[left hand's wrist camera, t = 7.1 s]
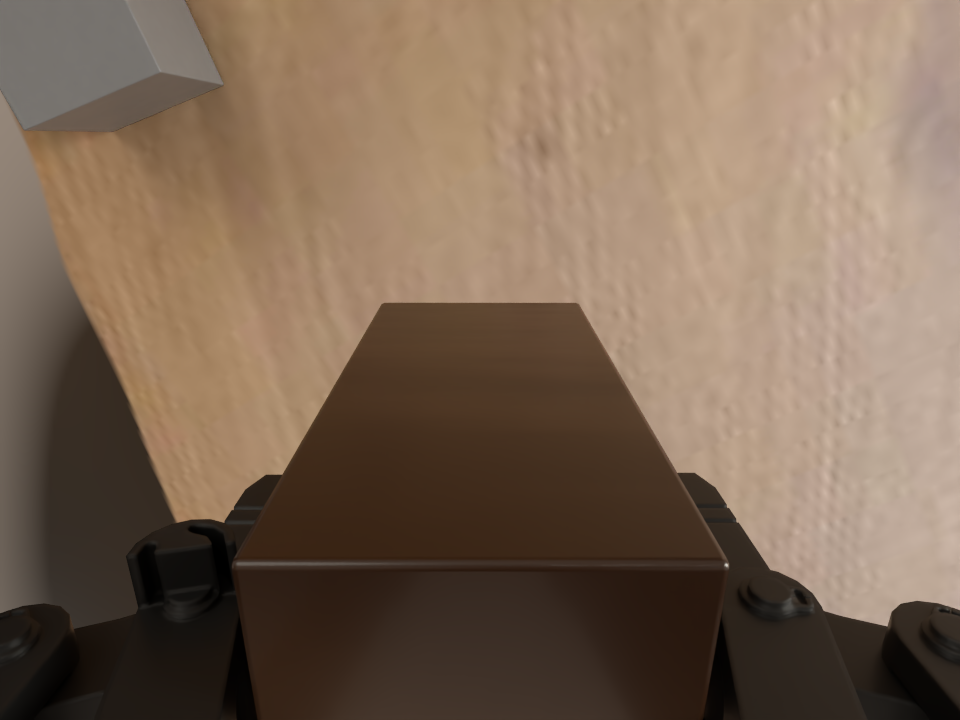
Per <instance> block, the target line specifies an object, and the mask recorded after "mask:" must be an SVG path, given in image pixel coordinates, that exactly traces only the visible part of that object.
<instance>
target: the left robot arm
mask: <svg viewBox="0 0 960 720" xmlns="http://www.w3.org/2000/svg"><path fill="white" fill-rule="evenodd" d="M677 474H678V475H679V477H680V479H681V481H682V482H683V484H684V486H685V487H686V489H687V491H688V493H689V494H690V496H691V498H692V500H693V501H694V503H695V505H696V506H697V508H698V510H699V512H700V513H701V515H702V517H703V518H704V520H705V522H706V524H707V525H708V527H709V529H710V530H711V532H712V534H713V536H714V537H715V539H716V541H717V542H718V544H719V546H720V548H721V549H722V551H723V553H724V554H725V556H726V558H727V560H728V563H729V573H728V579H727V585H726V590H725V596H724V602H723V608H722V613H721V619H720V625H719V631H718V636H717V642H716V648H715V654H714V659H713V665H712V671H711V677H710V682H709V688H708V694H707V700H706V705H705V711H704V717H703V720H960V610H957V609H955V608H951V607H948V606H945V605H942V604H938V603H930V602H921V601H914V602H909V603H903V604H900V605H899V606H898V607H897V608H896V609H895V610H893V611H892V613H891V617H890V620H889V623H888V627H887V626H882V625H878V624H873V623H869V622H864V621H860V620H856V619H851V618H847V617H842V616H839V615H835V614H832V613H829V612H825V611H823V609H822V607H821V605H820V604H819V602H818V601H817V599H816V598H815V596H814V595H813V593H811V592H810V591H809V590H808V589H806V588H805V587H804V586H803V585H801V584H800V583H799V582H798V581H796V580H794V579H792V578H789V577H787V576H785V575H783V574H781V573H779V572H776V571H772V570H770V569H769V567H768V566H767V564H766V563H765V561H764V560H763V558H762V557H761V555H760V554H759V552H758V551H757V549H756V548H755V546H754V545H753V543H752V542H751V540H750V539H749V537H748V536H747V534H746V533H745V531H744V530H743V528H742V527H741V525H740V524H739V523H737V522H736V518H735V516H734V515H733V513H732V512H731V510H730V509H729V508H727V504H726V503H725V502H724V500H723V499H722V497H721V496H720V494H719V493H718V491H717V490H716V488H715V487H714V486H712V485H711V484H709V483H708V482H707V481H705V480H704V479H702V478H701V477H700V476H698V475H697V474H695V473H677ZM281 476H282V475H265V476H264V477H262V478H261V479H260V480H258V481H257V482H255V483H254V484H253V485H251V486H250V487H248V488H247V489H246V490H245V491H244V493H243V494H242V496H241V497H240V499H239V500H238V502H237V503H236V505H235V506H234V510H232V511H231V512H230V514H229V515H228V517H227V518H226V520H225V523H223V522H219V521H215V520H211V519H202V520H188V521H184V522H179V523H175V524H171V525H169V526H166V527H164V528H161V529H159V530H157V531H154V532H152V533H151V534H149V535H148V536H146V537H145V538H143V539H142V540H140V541H139V542H138V543H136V544H135V546H134V547H133V548H132V549H131V551H130V552H129V553H128V554H127V556H126V558H127V562H128V566H129V571H130V575H131V579H132V583H133V587H134V591H135V595H136V600H137V604H138V610H137V613H136V614H134V615H131V616H127V617H124V618H120V619H116V620H112V621H108V622H103V623H99V624H94V625H90V626H85V627H81V628H76V629H74V628H73V625H72V622H71V618H70V615H69V614H68V613H67V612H66V611H65V610H64V609H63V608H62V607H60V606H55V605H50V604H36V605H28V606H22V607H19V608H15V609H12V610H9V611H6V612H3V613H0V720H257V714H256V708H255V702H254V696H253V691H252V685H251V679H250V673H249V667H248V661H247V656H246V650H245V644H244V638H243V632H242V626H241V621H240V615H239V609H238V603H237V597H236V592H235V586H234V580H233V574H232V562H233V559H234V557H235V555H236V554H237V552H238V550H239V549H240V547H241V545H242V543H243V542H244V540H245V538H246V537H247V535H248V533H249V531H250V530H251V528H252V526H253V525H254V523H255V521H256V519H257V518H258V516H259V514H260V512H261V511H262V509H263V507H264V506H265V504H266V502H267V500H268V499H269V497H270V495H271V494H272V492H273V490H274V488H275V487H276V485H277V483H278V482H279V480H280V478H281Z"/></svg>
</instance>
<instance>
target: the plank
mask: <svg viewBox="0 0 960 720" xmlns="http://www.w3.org/2000/svg"><path fill="white" fill-rule="evenodd" d="M728 573H729V563H728V560H727V558H726V556H725V554H724V553H723V551H722V549H721V548H720V546H719V544H718V542H717V541H716V539H715V537H714V536H713V534H712V532H711V530H710V529H709V527H708V525H707V524H706V522H705V520H704V518H703V517H702V515H701V513H700V512H699V510H698V508H697V506H696V505H695V503H694V501H693V500H692V498H691V496H690V494H689V493H688V491H687V489H686V487H685V486H684V484H683V482H682V481H681V479H680V477H679V475H678V474H677V472H676V470H675V469H674V467H673V465H672V463H671V462H670V460H669V458H668V457H667V455H666V453H665V451H664V450H663V448H662V446H661V445H660V443H659V441H658V439H657V438H656V436H655V434H654V433H653V431H652V429H651V427H650V426H649V424H648V422H647V421H646V419H645V417H644V415H643V414H642V412H641V410H640V409H639V407H638V405H637V403H636V402H635V400H634V398H633V397H632V395H631V393H630V391H629V390H628V388H627V386H626V385H625V383H624V381H623V379H622V378H621V376H620V374H619V373H618V371H617V369H616V367H615V366H614V364H613V362H612V361H611V359H610V357H609V355H608V354H607V352H606V350H605V348H604V347H603V345H602V343H601V342H600V340H599V338H598V336H597V335H596V333H595V331H594V330H593V328H592V326H591V324H590V323H589V321H588V319H587V318H586V316H585V314H584V312H583V311H582V309H581V307H580V306H579V304H577V303H383V304H382V305H381V306H380V308H379V310H378V312H377V313H376V315H375V317H374V318H373V320H372V322H371V324H370V325H369V327H368V329H367V330H366V332H365V334H364V336H363V337H362V339H361V341H360V342H359V344H358V346H357V348H356V349H355V351H354V353H353V355H352V356H351V358H350V360H349V361H348V363H347V365H346V367H345V368H344V370H343V372H342V373H341V375H340V377H339V379H338V380H337V382H336V384H335V385H334V387H333V389H332V391H331V392H330V394H329V396H328V397H327V399H326V401H325V403H324V404H323V406H322V408H321V409H320V411H319V413H318V415H317V416H316V418H315V420H314V421H313V423H312V425H311V427H310V428H309V430H308V432H307V434H306V435H305V437H304V439H303V440H302V442H301V444H300V446H299V447H298V449H297V451H296V452H295V454H294V456H293V458H292V459H291V461H290V463H289V464H288V466H287V468H286V470H285V471H284V473H283V475H282V476H281V478H280V480H279V482H278V483H277V485H276V487H275V488H274V490H273V492H272V494H271V495H270V497H269V499H268V500H267V502H266V504H265V506H264V507H263V509H262V511H261V512H260V514H259V516H258V518H257V519H256V521H255V523H254V525H253V526H252V528H251V530H250V531H249V533H248V535H247V537H246V538H245V540H244V542H243V543H242V545H241V547H240V549H239V550H238V552H237V554H236V555H235V557H234V559H233V562H232V574H233V580H234V586H235V592H236V597H237V603H238V609H239V615H240V621H241V626H242V632H243V638H244V644H245V650H246V656H247V661H248V667H249V673H250V679H251V685H252V691H253V696H254V702H255V708H256V714H257V720H703V717H704V711H705V705H706V700H707V694H708V688H709V682H710V677H711V671H712V665H713V659H714V654H715V648H716V642H717V636H718V631H719V625H720V619H721V613H722V608H723V602H724V596H725V590H726V585H727V579H728Z"/></svg>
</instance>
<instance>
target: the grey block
mask: <svg viewBox="0 0 960 720" xmlns="http://www.w3.org/2000/svg"><path fill="white" fill-rule="evenodd" d="M223 85H224V84H223V82H222V79H221V77H220V75H219V73H218V71H217V69H216V66H215V64H214V62H213V60H212V58H211V56H210V54H209V51H208V49H207V47H206V45H205V43H204V41H203V38H202V36H201V34H200V32H199V30H198V28H197V26H196V23H195V21H194V19H193V17H192V15H191V13H190V10H189V8H188V6H187V4H186V2H185V0H0V90H1V92H2V94H3V95H4V97H5V99H6V100H7V102H8V104H9V106H10V107H11V109H12V111H13V112H14V114H15V116H16V118H17V119H18V121H19V123H20V125H21V126H22V128H23V129H24V130H31V131H90V132H113V131H116V130H118V129H121V128H123V127H125V126H128V125H130V124H133V123H135V122H137V121H140V120H142V119H144V118H147V117H149V116H152V115H154V114H156V113H159V112H161V111H163V110H166V109H168V108H171V107H173V106H175V105H178V104H180V103H183V102H185V101H187V100H190V99H192V98H194V97H197V96H199V95H202V94H204V93H206V92H209V91H211V90H214V89H216V88H218V87H221V86H223Z"/></svg>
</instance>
